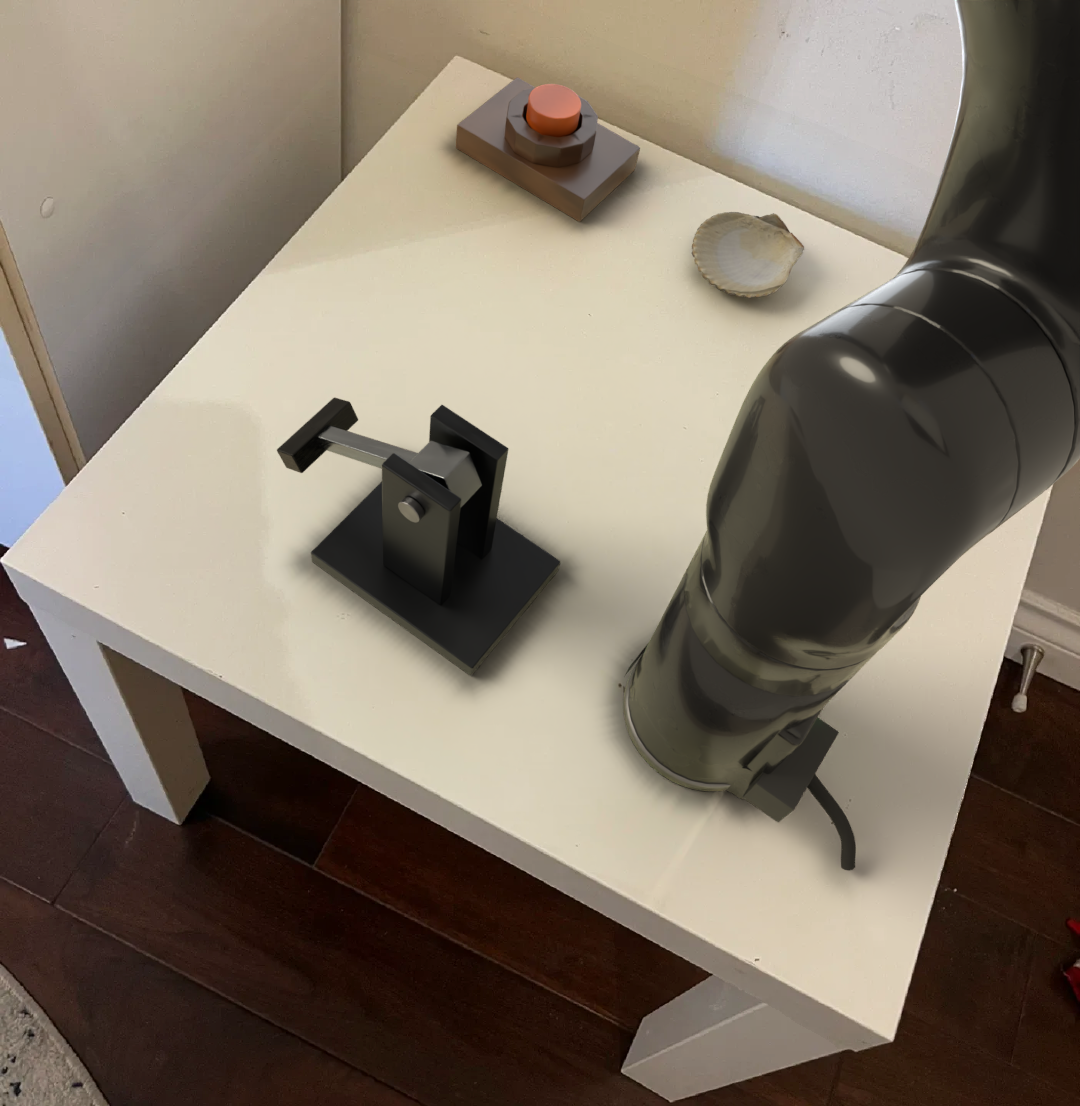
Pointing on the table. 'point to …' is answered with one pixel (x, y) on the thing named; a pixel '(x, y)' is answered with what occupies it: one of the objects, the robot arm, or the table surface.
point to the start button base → (547, 152)
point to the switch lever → (376, 450)
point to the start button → (553, 110)
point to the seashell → (745, 253)
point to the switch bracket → (440, 551)
